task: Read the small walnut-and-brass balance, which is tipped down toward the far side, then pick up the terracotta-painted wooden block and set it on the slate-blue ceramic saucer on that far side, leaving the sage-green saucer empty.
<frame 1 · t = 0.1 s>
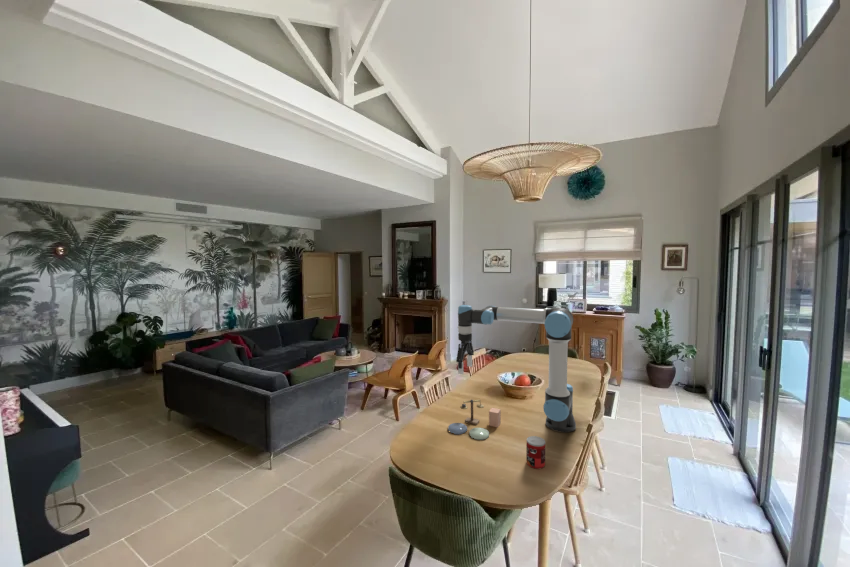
hand: (465, 369, 198), 28 cm above the table, fingers open, 13 cm apart
saucer slate far: (457, 429, 188), on the table
balance: (472, 422, 195), on the table
saucer sage near: (479, 434, 182), on the table
block: (494, 424, 192), on the table
canned food: (535, 464, 156), on the table
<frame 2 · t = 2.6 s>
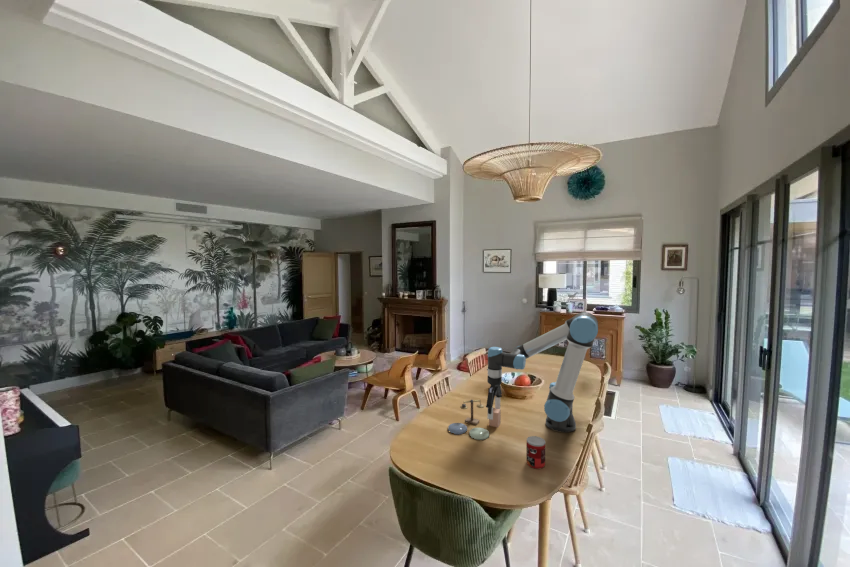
hand: (494, 413, 192), 6 cm above the table, fingers open, 13 cm apart
nothing on the table moved.
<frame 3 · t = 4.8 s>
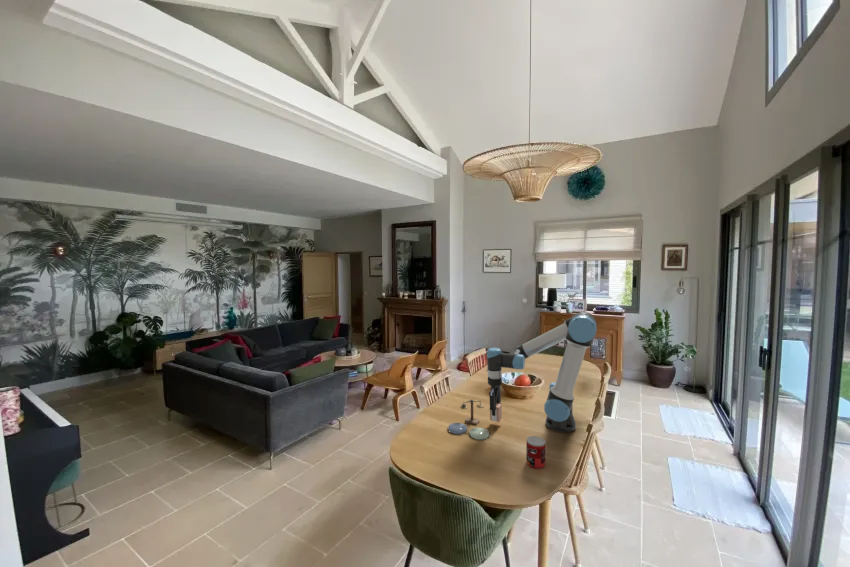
hand: (495, 418, 192), 3 cm above the table, fingers closed on block, 5 cm apart
block: (495, 419, 192), point 3 cm above the table, touching gripper
everything else where it was.
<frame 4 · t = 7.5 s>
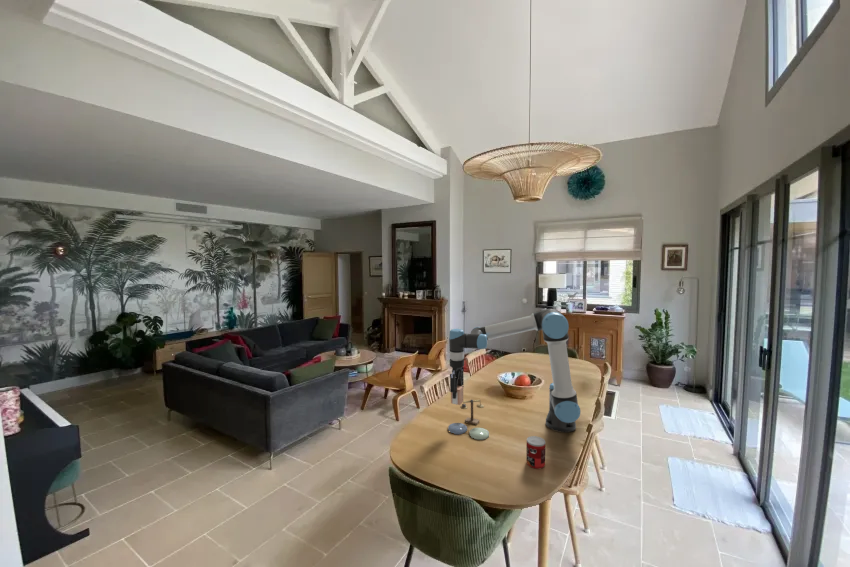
hand: (457, 401, 186), 15 cm above the table, fingers closed on block, 5 cm apart
block: (457, 402, 186), point 15 cm above the table, touching gripper
everything else where it was.
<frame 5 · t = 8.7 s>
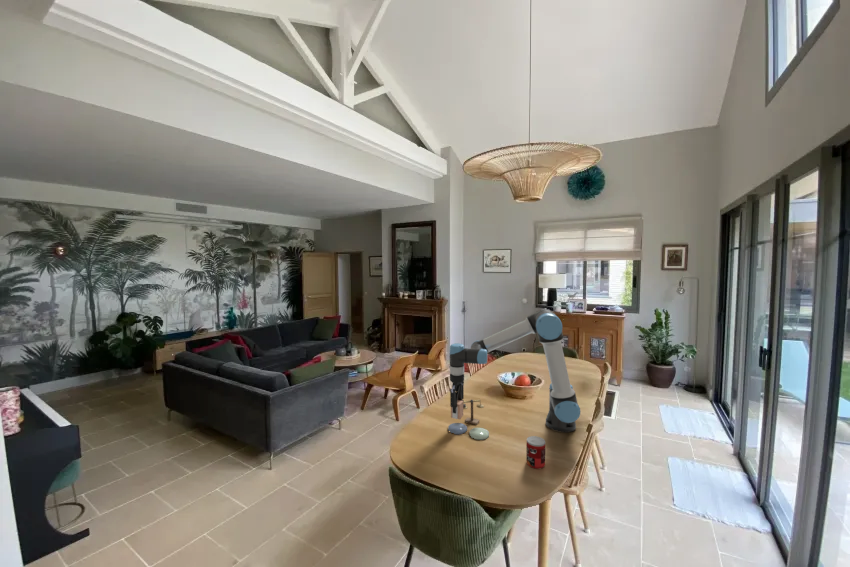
hand: (457, 415, 187), 8 cm above the table, fingers closed on block, 5 cm apart
block: (457, 416, 187), point 7 cm above the table, touching gripper
everything else where it was.
when the fingers open (2 cm above the table, at t = 10.1 s): block stays where it is, resting on saucer slate far.
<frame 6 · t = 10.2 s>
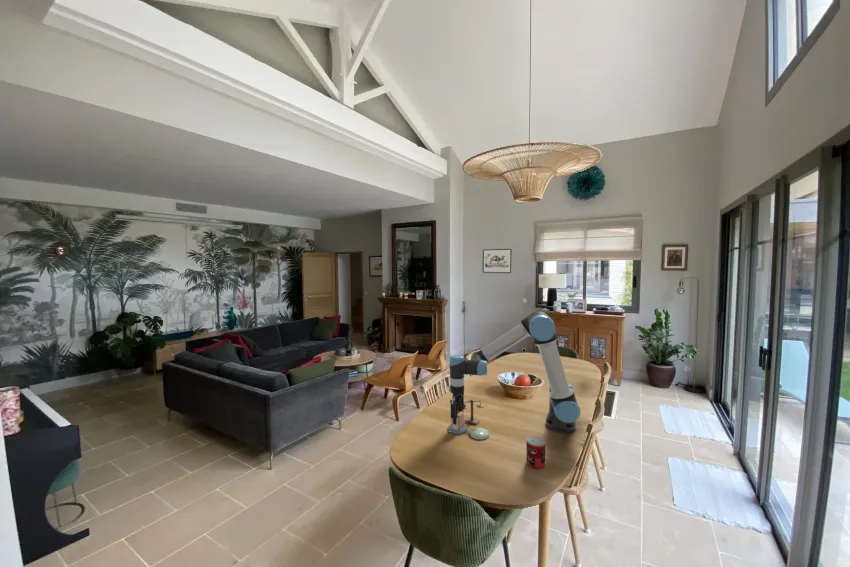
hand: (457, 426, 188), 2 cm above the table, fingers open, 5 cm apart
block: (457, 427, 188), point 1 cm above the table, touching saucer slate far
everything else where it was.
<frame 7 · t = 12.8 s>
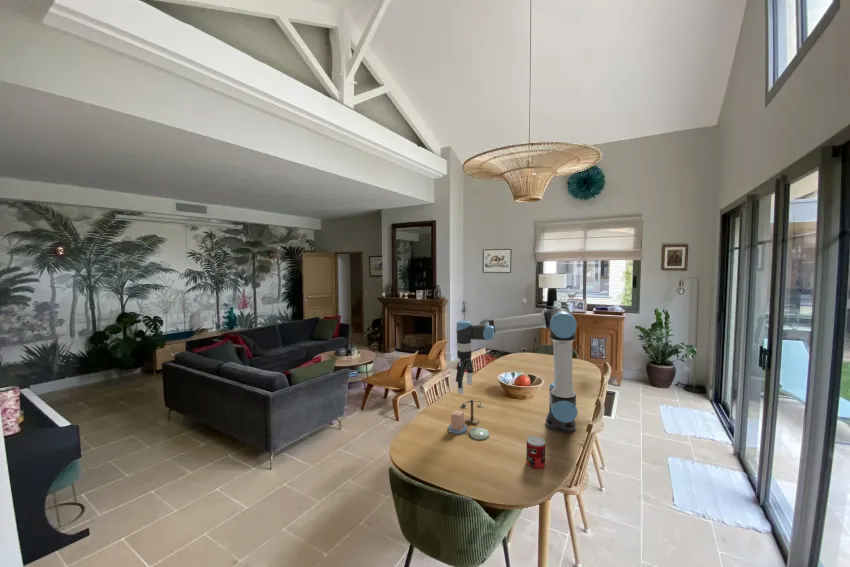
hand: (465, 388, 189), 21 cm above the table, fingers open, 13 cm apart
nothing on the table moved.
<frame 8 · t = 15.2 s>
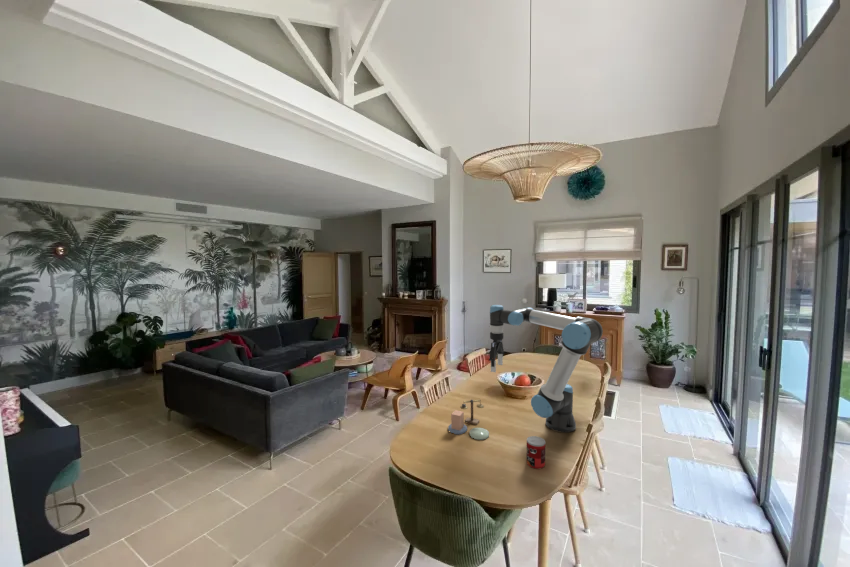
hand: (496, 368, 204), 27 cm above the table, fingers open, 13 cm apart
nothing on the table moved.
at the end: block 0.0 cm from the saucer slate far (horizontally); block touching saucer slate far; block tilted 0° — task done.
